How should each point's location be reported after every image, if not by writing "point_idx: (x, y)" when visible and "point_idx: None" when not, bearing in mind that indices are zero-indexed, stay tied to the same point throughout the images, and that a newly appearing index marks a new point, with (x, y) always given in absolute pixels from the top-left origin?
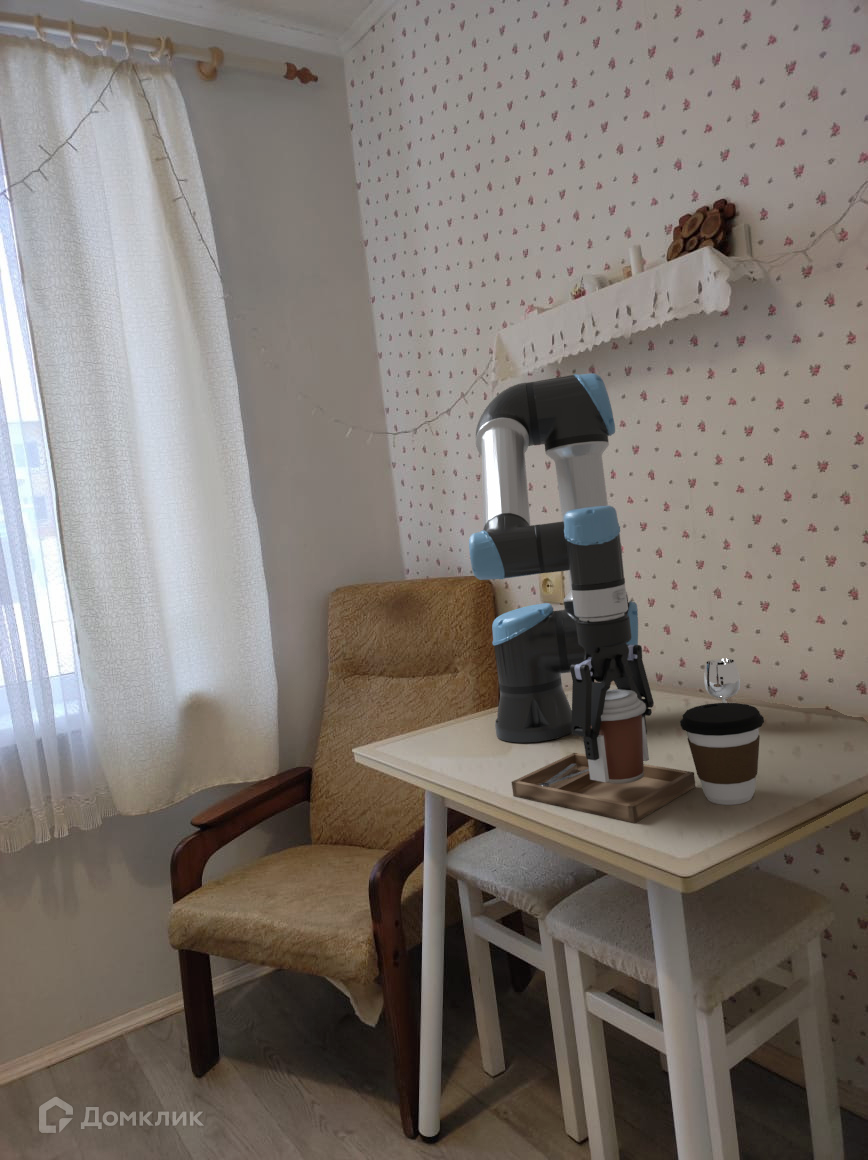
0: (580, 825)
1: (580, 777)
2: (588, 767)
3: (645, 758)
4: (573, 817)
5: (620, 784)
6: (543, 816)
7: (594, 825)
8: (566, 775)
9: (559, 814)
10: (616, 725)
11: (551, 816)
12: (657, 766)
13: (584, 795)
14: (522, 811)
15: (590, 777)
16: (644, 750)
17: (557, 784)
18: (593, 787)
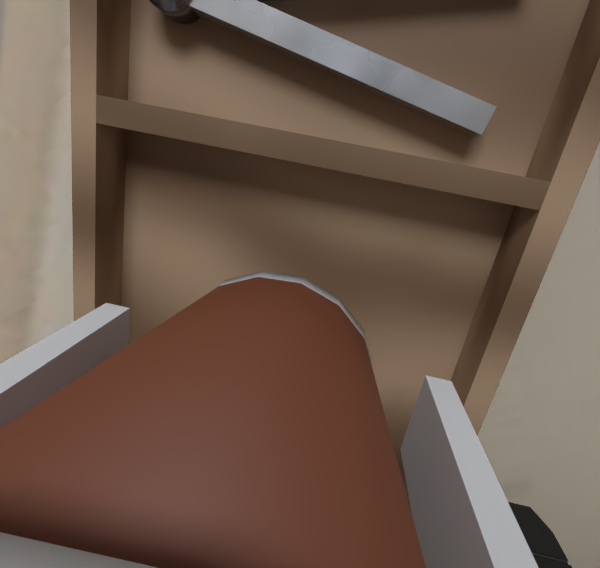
0: (23, 295)
1: (265, 154)
2: (574, 28)
3: (402, 457)
4: (59, 246)
5: (360, 293)
6: (14, 135)
7: (44, 334)
8: None
9: (56, 185)
10: None
11: (29, 165)
12: (476, 429)
13: (86, 278)
14: (7, 13)
15: (101, 307)
16: (408, 490)
17: (238, 31)
18: (300, 200)
